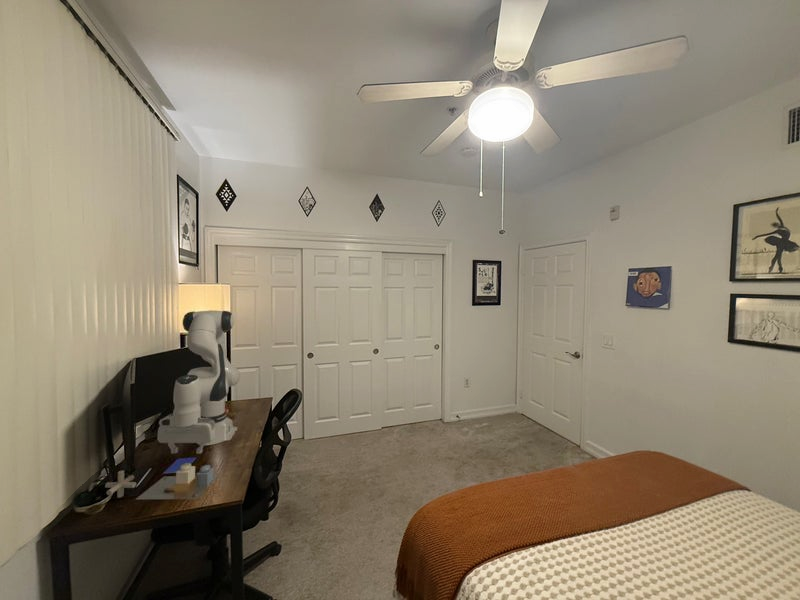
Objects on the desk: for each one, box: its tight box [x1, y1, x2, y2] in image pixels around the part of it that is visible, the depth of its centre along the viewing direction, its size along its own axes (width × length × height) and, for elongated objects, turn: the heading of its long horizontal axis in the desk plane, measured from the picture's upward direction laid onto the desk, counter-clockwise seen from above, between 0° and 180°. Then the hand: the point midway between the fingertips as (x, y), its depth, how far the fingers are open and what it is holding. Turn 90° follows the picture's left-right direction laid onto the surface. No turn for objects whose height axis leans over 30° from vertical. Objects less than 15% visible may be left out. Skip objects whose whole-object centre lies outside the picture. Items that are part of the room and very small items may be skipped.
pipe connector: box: [104, 470, 137, 498], centre depth 117 cm, size 10×10×10 cm
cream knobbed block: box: [175, 463, 196, 484], centre depth 121 cm, size 4×4×6 cm
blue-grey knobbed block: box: [195, 464, 215, 485], centre depth 127 cm, size 4×4×6 cm
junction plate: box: [135, 475, 219, 500], centre depth 123 cm, size 15×22×1 cm
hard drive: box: [162, 457, 197, 475], centre depth 139 cm, size 2×8×12 cm
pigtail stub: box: [164, 477, 197, 495], centre depth 121 cm, size 5×11×4 cm, turn 92°
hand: (187, 452), depth 121 cm, fingers open, 8 cm apart
